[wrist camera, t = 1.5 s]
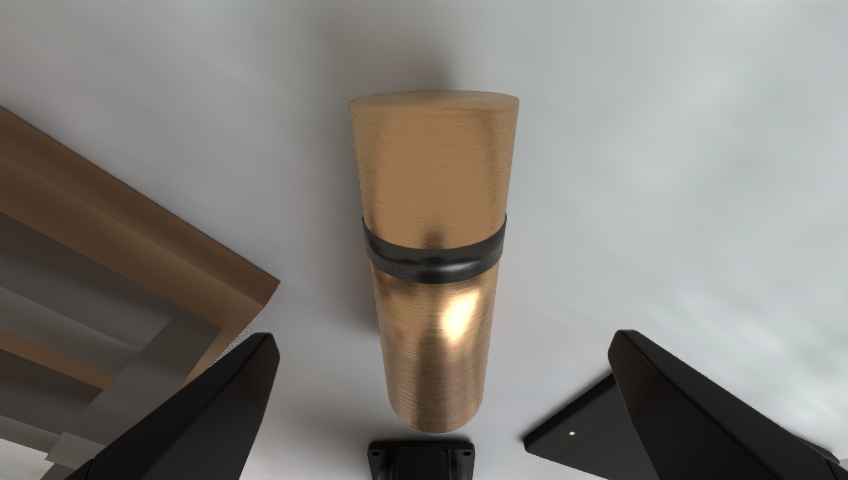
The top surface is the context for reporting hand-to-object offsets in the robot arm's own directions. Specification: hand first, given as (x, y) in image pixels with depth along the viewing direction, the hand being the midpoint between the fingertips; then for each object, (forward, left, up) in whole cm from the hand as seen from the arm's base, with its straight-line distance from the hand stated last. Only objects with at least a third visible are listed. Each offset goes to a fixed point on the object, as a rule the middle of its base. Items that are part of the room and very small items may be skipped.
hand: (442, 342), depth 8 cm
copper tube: (0, 0, -4) cm, 5 cm away
